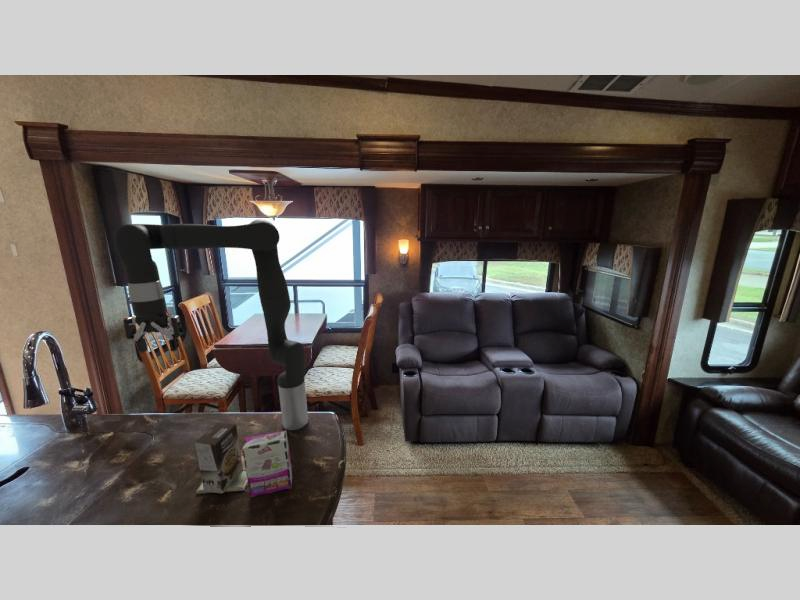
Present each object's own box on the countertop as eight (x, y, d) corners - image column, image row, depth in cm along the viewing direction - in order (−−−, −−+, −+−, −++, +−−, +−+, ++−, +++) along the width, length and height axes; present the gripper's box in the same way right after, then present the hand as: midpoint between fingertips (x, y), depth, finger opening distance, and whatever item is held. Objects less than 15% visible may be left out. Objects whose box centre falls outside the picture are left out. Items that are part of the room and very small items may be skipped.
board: (218, 459, 101) (218, 457, 101) (259, 456, 102) (259, 454, 102) (196, 493, 88) (196, 490, 88) (244, 490, 90) (243, 487, 89)
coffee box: (223, 494, 87) (214, 445, 83) (203, 491, 88) (193, 442, 84) (244, 469, 96) (237, 423, 92) (225, 466, 97) (217, 421, 93)
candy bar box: (292, 475, 95) (287, 429, 90) (291, 488, 90) (286, 440, 86) (252, 484, 92) (245, 436, 87) (249, 498, 87) (241, 448, 83)
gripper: (182, 293, 92) (192, 345, 96) (130, 294, 90) (142, 346, 94) (166, 300, 84) (177, 355, 88) (109, 301, 83) (123, 357, 87)
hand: (159, 350), depth 91 cm, fingers open, 8 cm apart
